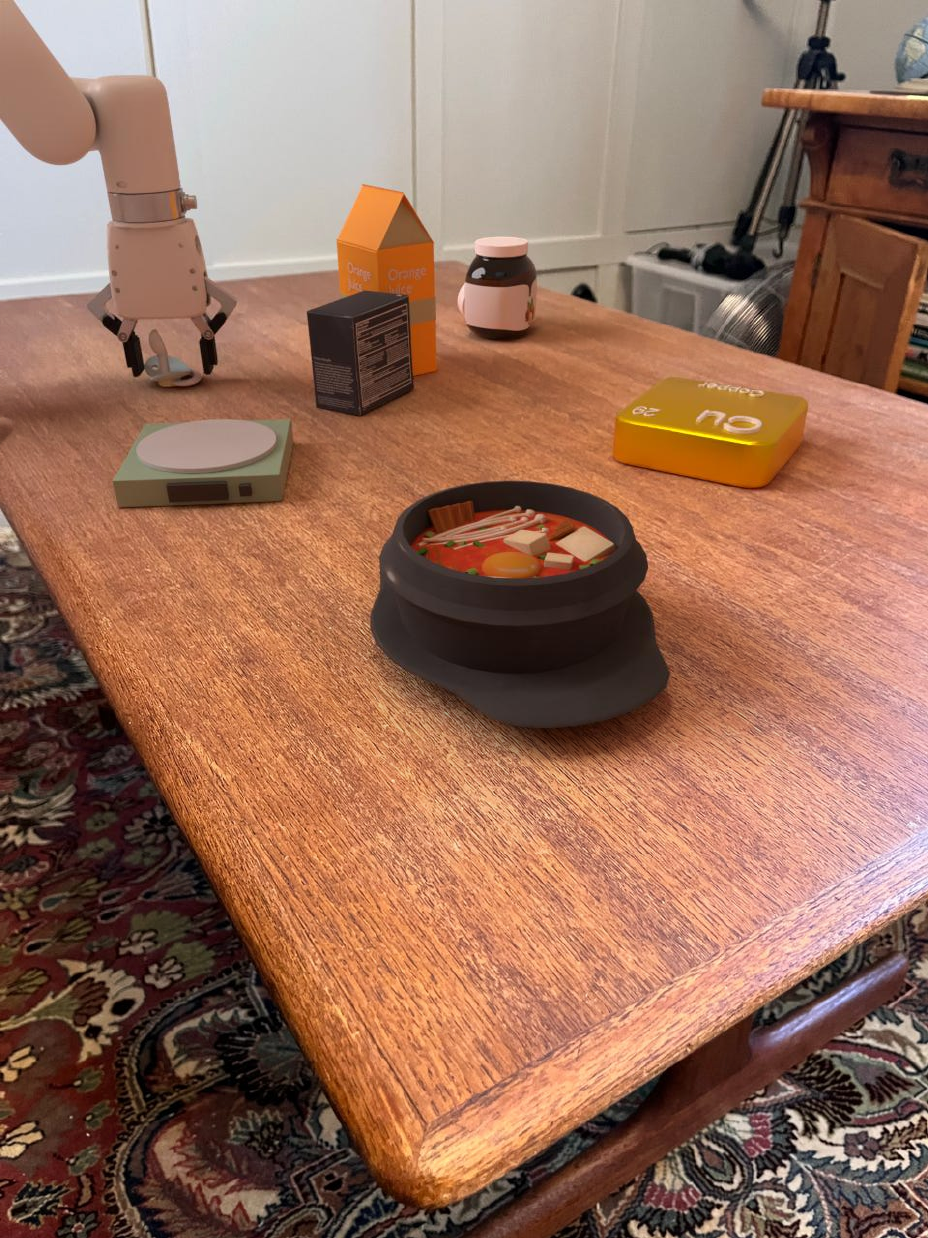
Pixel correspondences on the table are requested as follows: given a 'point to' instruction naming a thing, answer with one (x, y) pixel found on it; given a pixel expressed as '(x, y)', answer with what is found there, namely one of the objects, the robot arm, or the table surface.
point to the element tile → (710, 431)
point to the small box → (361, 351)
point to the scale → (206, 463)
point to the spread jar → (499, 289)
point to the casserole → (521, 603)
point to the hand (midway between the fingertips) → (174, 371)
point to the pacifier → (167, 365)
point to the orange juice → (392, 263)
